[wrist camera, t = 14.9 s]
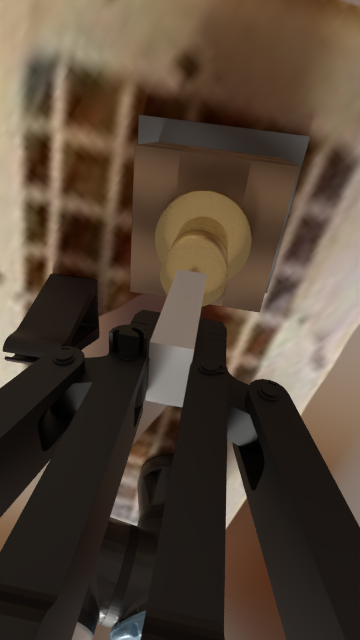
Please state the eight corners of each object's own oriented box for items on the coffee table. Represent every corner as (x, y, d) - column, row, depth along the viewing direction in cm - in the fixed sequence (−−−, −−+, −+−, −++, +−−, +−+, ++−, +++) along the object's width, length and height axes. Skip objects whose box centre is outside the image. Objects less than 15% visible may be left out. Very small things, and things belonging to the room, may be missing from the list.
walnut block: (265, 287, 39) (276, 334, 30) (136, 267, 40) (108, 306, 31) (306, 136, 31) (337, 138, 22) (142, 115, 32) (108, 109, 23)
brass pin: (238, 255, 35) (242, 339, 21) (169, 245, 36) (129, 320, 21) (253, 181, 31) (272, 223, 17) (177, 170, 32) (133, 203, 18)
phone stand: (99, 336, 46) (62, 395, 36) (59, 330, 47) (10, 386, 36) (97, 278, 42) (53, 327, 31) (52, 272, 42) (-6, 318, 32)
